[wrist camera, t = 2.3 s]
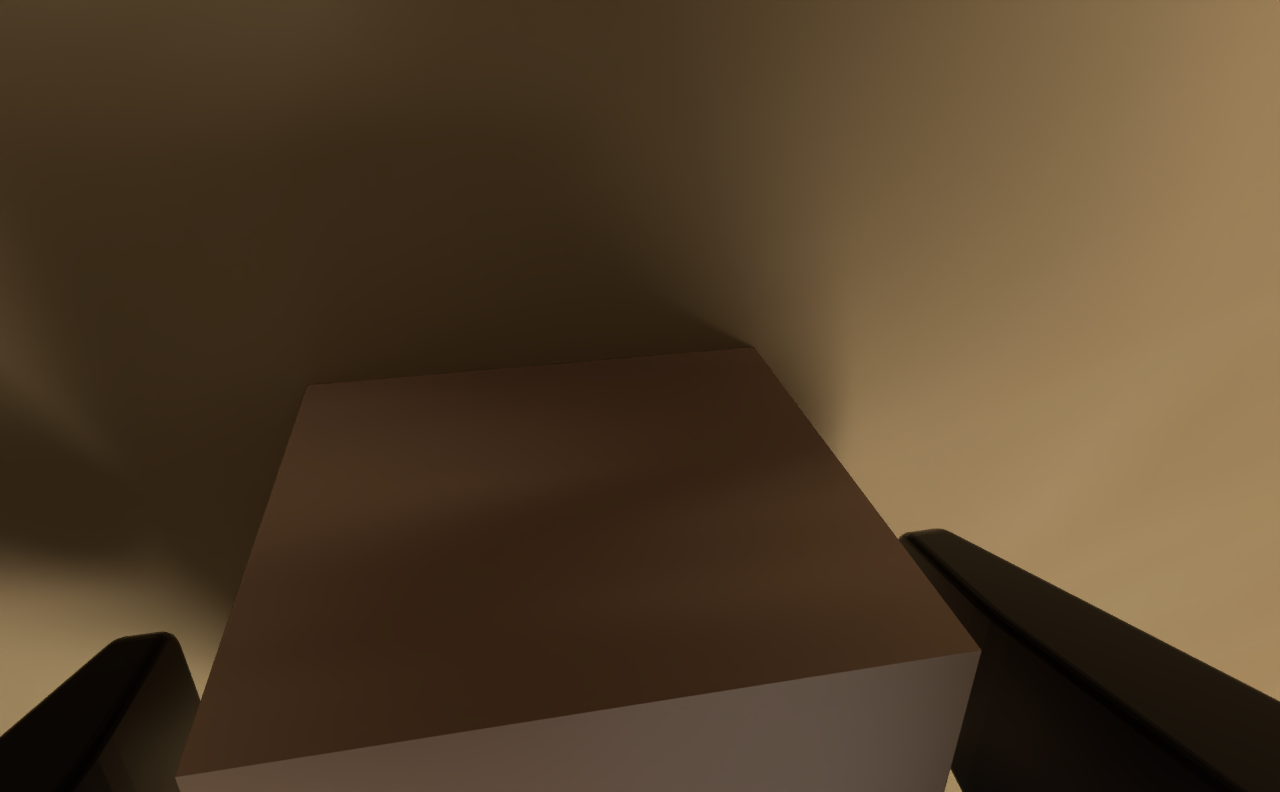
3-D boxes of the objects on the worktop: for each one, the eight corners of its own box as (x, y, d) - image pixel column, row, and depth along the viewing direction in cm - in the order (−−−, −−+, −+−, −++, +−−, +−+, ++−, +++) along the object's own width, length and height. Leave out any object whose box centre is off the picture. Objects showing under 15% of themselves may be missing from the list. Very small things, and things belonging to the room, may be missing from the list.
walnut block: (750, 343, 8) (980, 650, 4) (729, 652, 10) (878, 1036, 6) (309, 381, 7) (175, 776, 4) (378, 705, 9) (331, 1168, 6)
